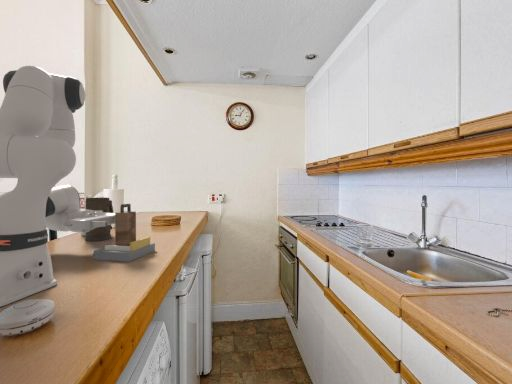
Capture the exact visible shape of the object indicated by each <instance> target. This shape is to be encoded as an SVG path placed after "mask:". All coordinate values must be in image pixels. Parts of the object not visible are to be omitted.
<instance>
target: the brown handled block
mask: <svg viewBox="0 0 512 384" xmlns="http://www.w3.org/2000/svg"><path fill="white" fill-rule="evenodd" d="M131 207H132V205H131V203H121V204H120V210H119V211H116V212H114V213H115V224H114V225H115V227H114V229H115V230H114V233H115V237H114V238H115V243H114V244H115V245H118V246H130V242H133V241H136V240H137V212H136V211H132V209H131ZM125 208H127V211H126V210H125Z"/></svg>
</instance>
